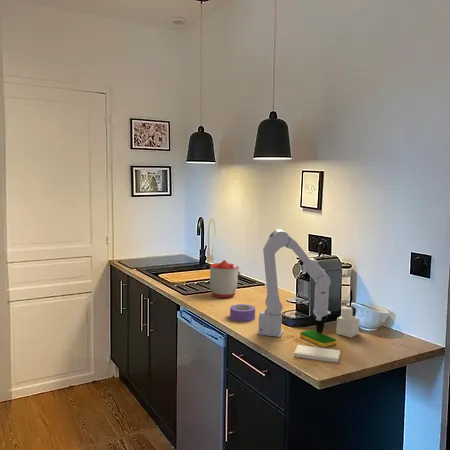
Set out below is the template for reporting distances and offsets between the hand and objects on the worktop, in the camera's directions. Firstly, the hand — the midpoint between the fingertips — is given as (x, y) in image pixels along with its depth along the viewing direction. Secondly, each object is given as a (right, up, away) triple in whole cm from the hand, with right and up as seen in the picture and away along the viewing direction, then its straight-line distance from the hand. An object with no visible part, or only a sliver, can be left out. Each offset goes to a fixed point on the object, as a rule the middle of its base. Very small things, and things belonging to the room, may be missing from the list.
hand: (319, 332), depth 203 cm
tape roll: (-32, +2, +22) cm, 39 cm away
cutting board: (-6, -3, -23) cm, 24 cm away
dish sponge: (-2, -2, -7) cm, 7 cm away
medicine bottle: (+12, -1, +2) cm, 12 cm away
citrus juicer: (-40, +6, +61) cm, 73 cm away
